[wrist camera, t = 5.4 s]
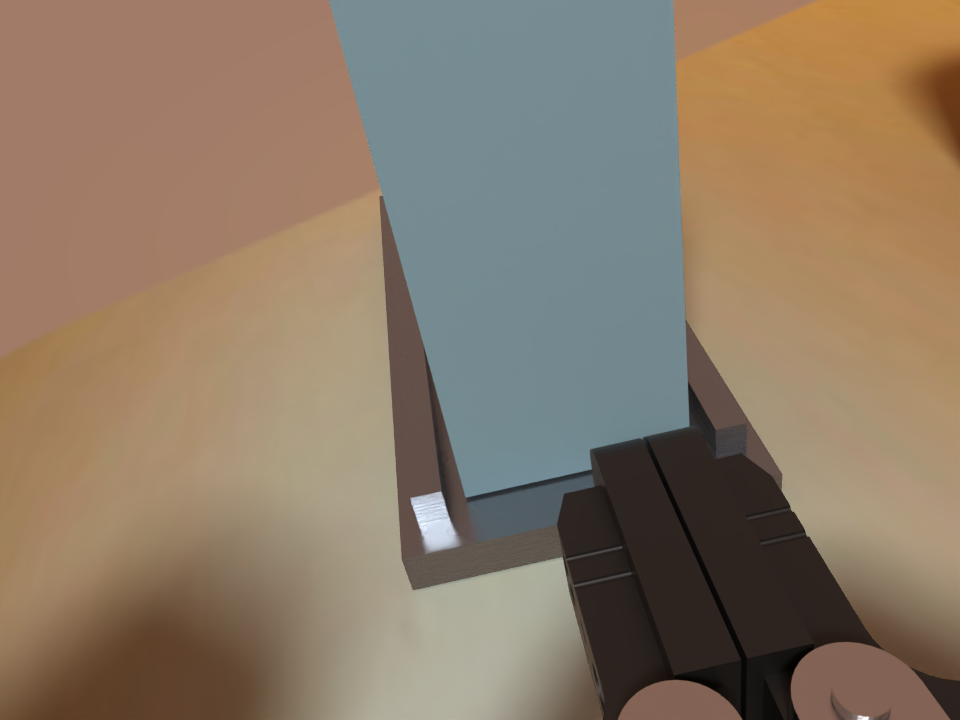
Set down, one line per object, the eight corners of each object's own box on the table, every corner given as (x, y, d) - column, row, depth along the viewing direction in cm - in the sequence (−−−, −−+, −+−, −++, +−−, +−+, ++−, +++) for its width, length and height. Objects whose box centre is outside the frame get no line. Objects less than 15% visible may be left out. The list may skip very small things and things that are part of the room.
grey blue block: (690, 447, 21) (668, -121, 14) (465, 497, 21) (317, -41, 14) (584, 239, 31) (536, -158, 23) (430, 274, 31) (332, -112, 23)
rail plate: (780, 507, 21) (790, 328, 17) (412, 590, 21) (353, 427, 17) (582, 174, 38) (569, 55, 35) (385, 219, 39) (354, 104, 35)
